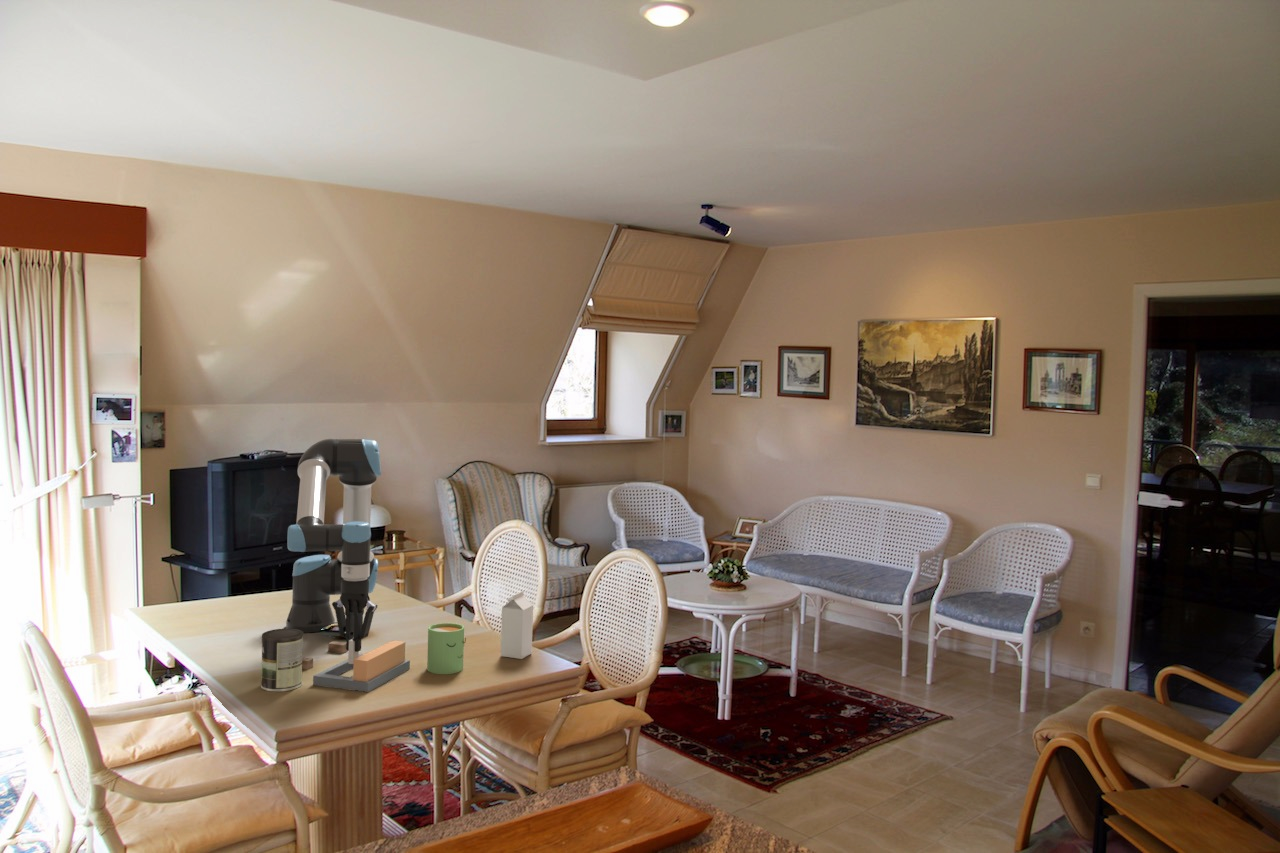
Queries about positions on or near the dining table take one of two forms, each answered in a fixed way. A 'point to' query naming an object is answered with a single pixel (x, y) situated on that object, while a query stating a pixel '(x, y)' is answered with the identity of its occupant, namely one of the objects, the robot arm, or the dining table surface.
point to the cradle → (332, 647)
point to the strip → (378, 661)
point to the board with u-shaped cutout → (333, 680)
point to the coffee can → (281, 660)
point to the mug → (445, 648)
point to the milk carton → (517, 627)
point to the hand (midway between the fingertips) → (353, 662)
